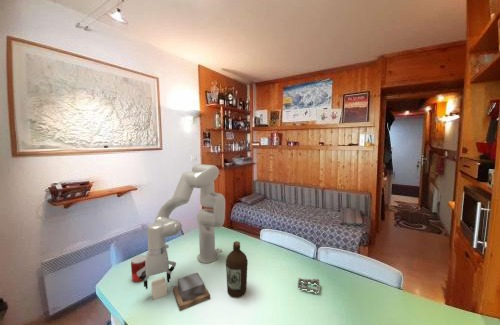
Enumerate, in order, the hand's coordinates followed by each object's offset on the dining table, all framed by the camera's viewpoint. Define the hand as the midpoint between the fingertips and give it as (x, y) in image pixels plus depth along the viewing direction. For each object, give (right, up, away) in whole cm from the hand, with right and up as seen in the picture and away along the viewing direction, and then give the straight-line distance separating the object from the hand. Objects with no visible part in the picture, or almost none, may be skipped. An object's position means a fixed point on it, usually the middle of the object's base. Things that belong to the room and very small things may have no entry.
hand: (157, 284), depth 102 cm
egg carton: (+74, -5, +5) cm, 74 cm away
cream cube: (0, -5, +1) cm, 5 cm away
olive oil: (+38, -5, +3) cm, 38 cm away
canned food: (-15, -4, +13) cm, 20 cm away
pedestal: (+16, -5, 0) cm, 17 cm away
